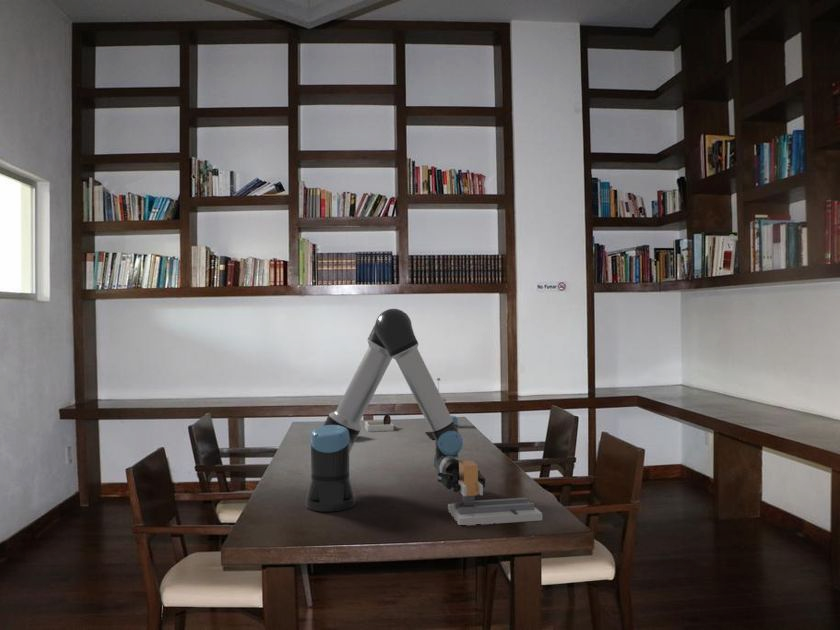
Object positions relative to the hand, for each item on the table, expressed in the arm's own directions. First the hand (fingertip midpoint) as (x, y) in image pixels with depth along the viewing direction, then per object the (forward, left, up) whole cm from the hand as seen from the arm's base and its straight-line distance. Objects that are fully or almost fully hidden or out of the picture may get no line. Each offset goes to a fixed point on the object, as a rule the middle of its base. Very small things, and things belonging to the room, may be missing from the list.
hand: (473, 490), depth 180 cm
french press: (+22, +150, -9) cm, 152 cm away
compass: (-7, +149, -9) cm, 149 cm away
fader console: (+8, +5, -9) cm, 13 cm away
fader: (0, +5, -7) cm, 9 cm away
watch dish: (-8, +150, -9) cm, 151 cm away
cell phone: (+17, +125, -10) cm, 127 cm away
